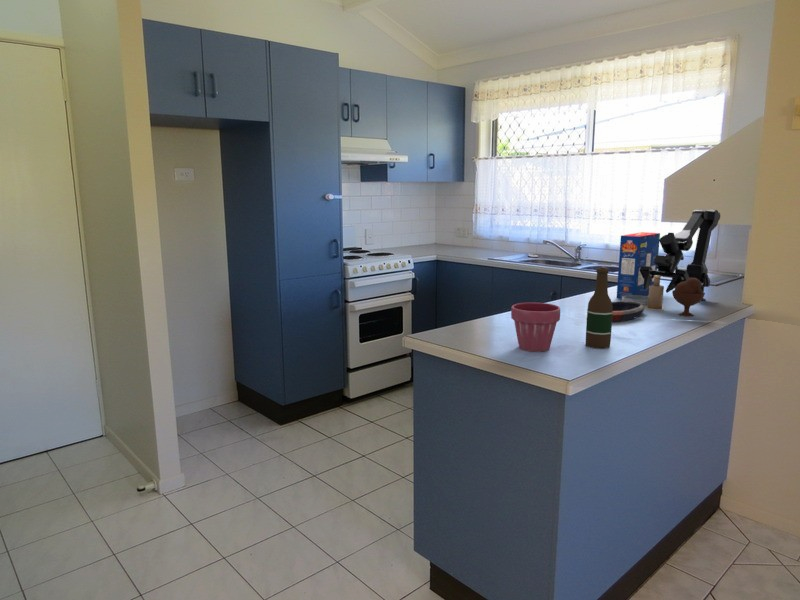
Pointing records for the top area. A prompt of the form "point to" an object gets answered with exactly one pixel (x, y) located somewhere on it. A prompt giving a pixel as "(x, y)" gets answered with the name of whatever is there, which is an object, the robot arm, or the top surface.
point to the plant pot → (535, 324)
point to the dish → (626, 310)
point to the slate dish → (636, 298)
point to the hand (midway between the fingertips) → (655, 290)
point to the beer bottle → (599, 313)
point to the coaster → (654, 309)
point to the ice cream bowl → (688, 294)
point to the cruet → (655, 294)
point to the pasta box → (636, 262)
